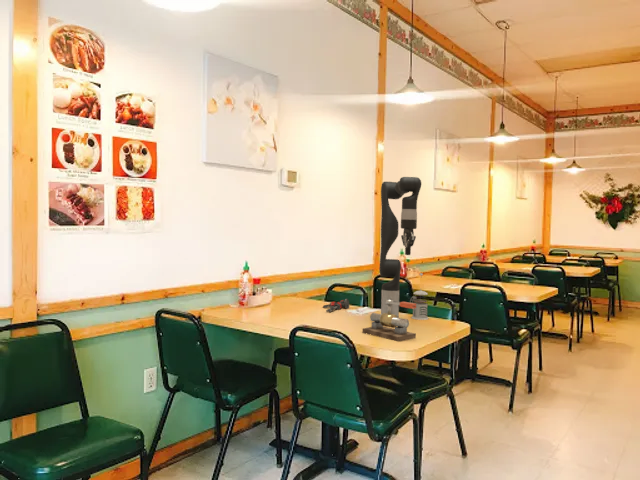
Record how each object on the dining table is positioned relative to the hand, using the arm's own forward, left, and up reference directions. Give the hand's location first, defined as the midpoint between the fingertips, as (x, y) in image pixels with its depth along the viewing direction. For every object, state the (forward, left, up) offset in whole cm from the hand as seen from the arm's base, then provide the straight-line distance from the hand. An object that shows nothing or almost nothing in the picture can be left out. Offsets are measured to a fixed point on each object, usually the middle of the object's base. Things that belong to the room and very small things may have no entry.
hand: (407, 254), depth 247 cm
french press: (-33, +21, -37) cm, 54 cm away
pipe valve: (+7, -11, -35) cm, 37 cm away
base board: (+7, -11, -37) cm, 39 cm away
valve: (-65, -20, -38) cm, 78 cm away
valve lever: (+12, -8, -22) cm, 27 cm away
